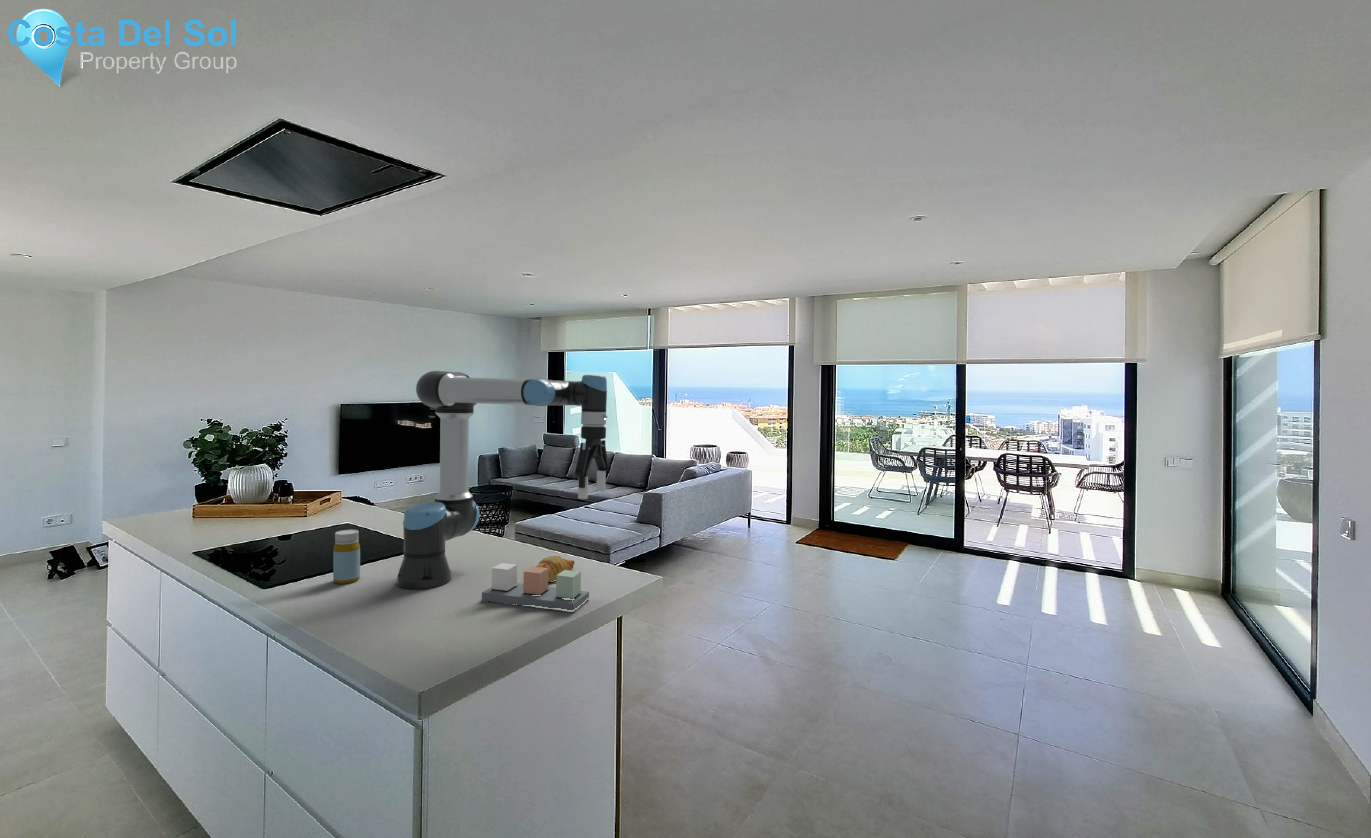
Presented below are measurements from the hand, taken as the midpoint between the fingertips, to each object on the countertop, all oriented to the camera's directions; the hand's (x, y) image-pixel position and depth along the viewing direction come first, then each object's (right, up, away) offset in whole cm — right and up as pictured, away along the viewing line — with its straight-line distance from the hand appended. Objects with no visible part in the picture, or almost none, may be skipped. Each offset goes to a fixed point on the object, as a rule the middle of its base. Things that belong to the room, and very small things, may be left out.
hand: (592, 495), depth 175 cm
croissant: (-15, -28, +8) cm, 32 cm away
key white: (-23, -25, -11) cm, 36 cm away
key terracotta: (-14, -25, -13) cm, 32 cm away
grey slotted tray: (-14, -28, -13) cm, 34 cm away
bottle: (-75, -26, -1) cm, 79 cm away
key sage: (-4, -26, -16) cm, 30 cm away
